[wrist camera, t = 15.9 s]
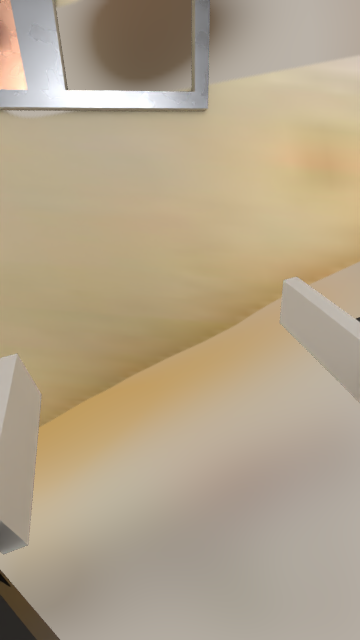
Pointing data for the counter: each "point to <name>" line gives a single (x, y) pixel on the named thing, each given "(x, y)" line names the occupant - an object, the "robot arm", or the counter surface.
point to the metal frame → (49, 72)
